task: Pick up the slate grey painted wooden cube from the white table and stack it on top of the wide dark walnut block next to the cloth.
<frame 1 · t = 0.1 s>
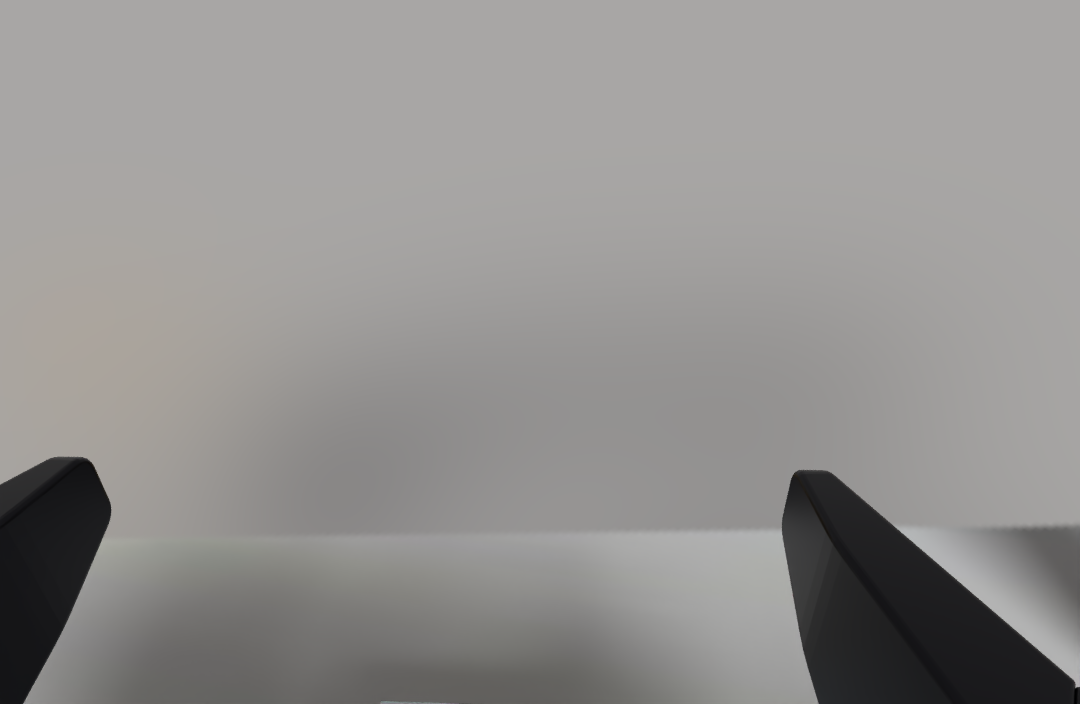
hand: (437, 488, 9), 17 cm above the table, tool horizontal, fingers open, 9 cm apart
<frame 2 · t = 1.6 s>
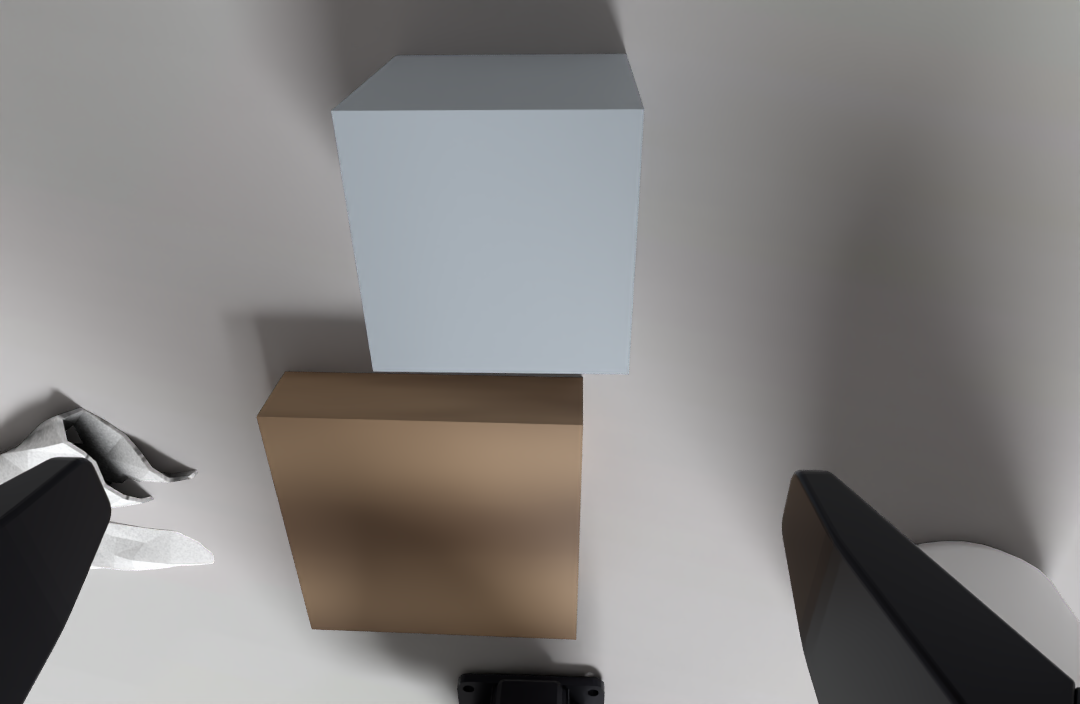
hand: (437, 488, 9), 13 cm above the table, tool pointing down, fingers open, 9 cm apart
white bottle: (925, 605, 29), on the table
walnut block: (445, 479, 27), on the table
grey cube: (514, 167, 21), on the table
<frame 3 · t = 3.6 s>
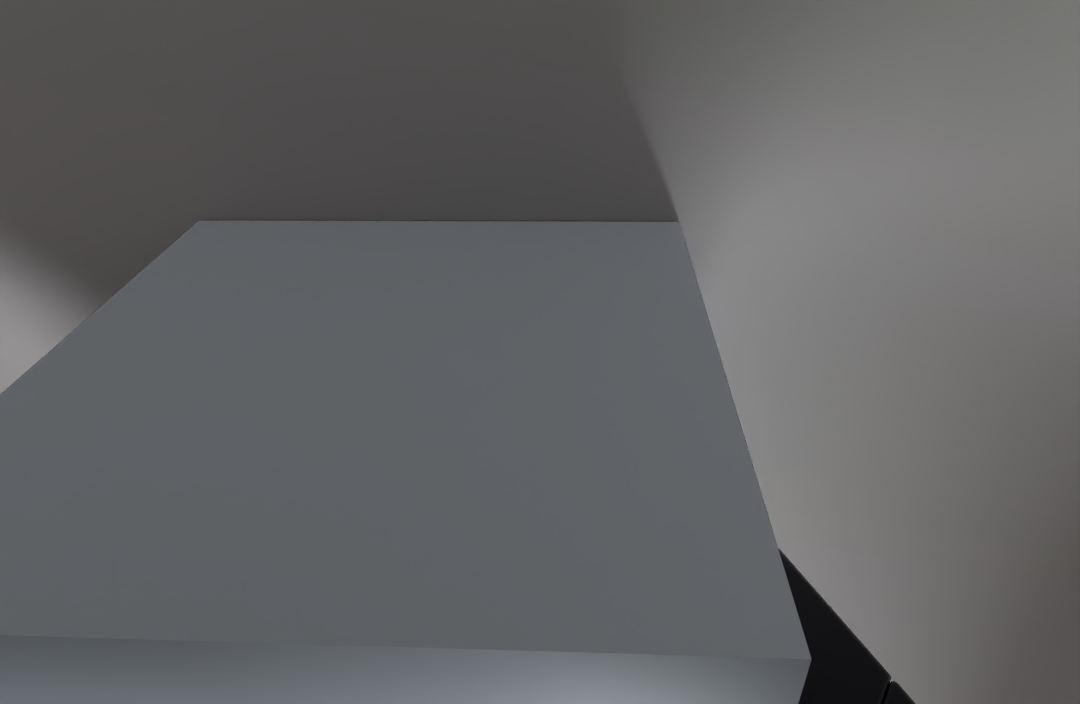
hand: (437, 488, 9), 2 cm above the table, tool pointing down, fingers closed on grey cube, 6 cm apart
grey cube: (454, 414, 11), on the table, touching gripper
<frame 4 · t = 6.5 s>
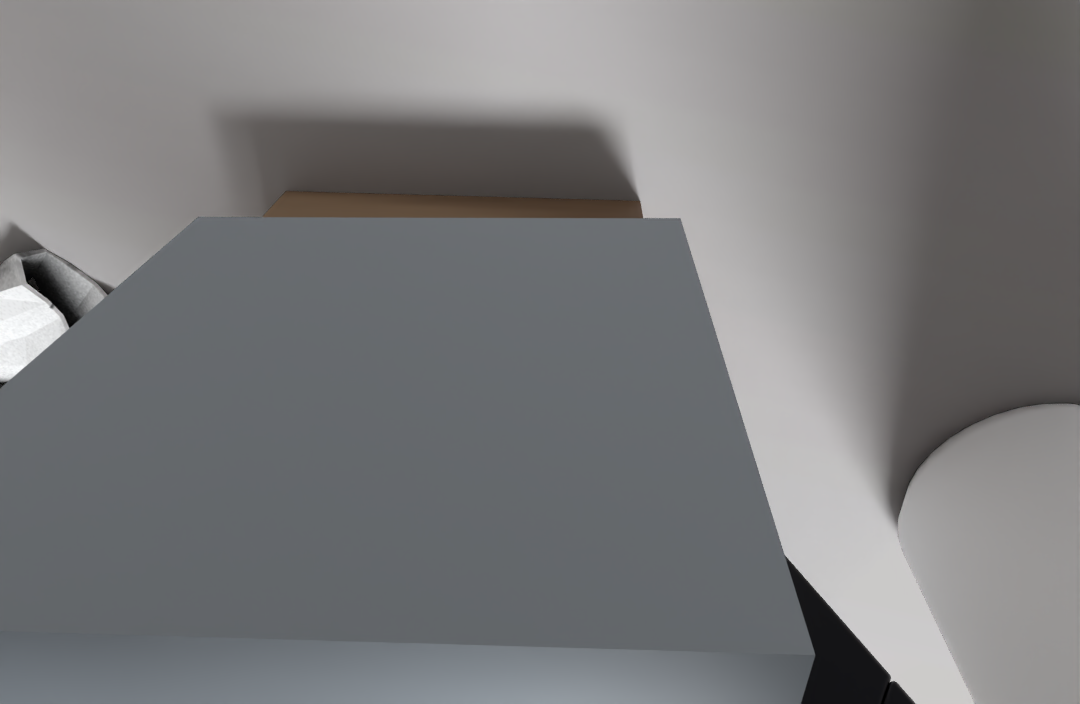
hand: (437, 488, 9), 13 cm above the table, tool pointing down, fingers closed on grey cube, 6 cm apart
white bottle: (1016, 486, 26), on the table
walnut block: (470, 337, 24), on the table
grey cube: (454, 412, 11), point 11 cm above the table, touching gripper
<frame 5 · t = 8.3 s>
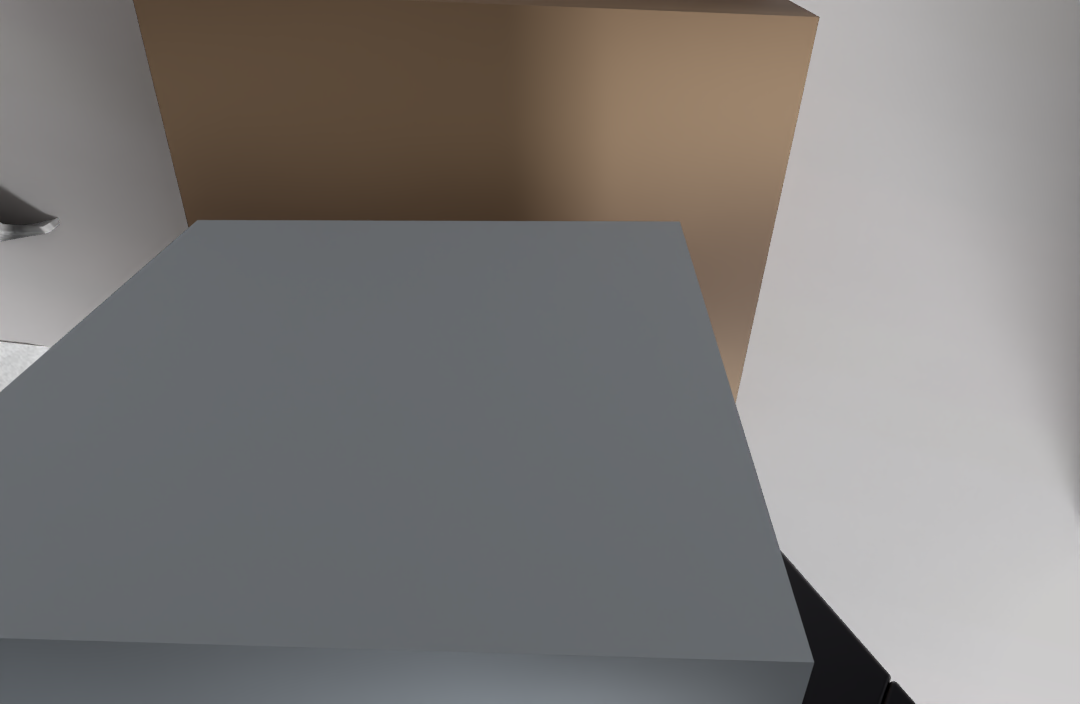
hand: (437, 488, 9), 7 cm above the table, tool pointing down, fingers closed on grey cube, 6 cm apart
walnut block: (493, 238, 16), on the table
grey cube: (453, 414, 11), point 6 cm above the table, touching gripper
when the fingers open (6 cm above the table, at t = 9.5 s): grey cube drops 2 cm, point 2 cm above the table.
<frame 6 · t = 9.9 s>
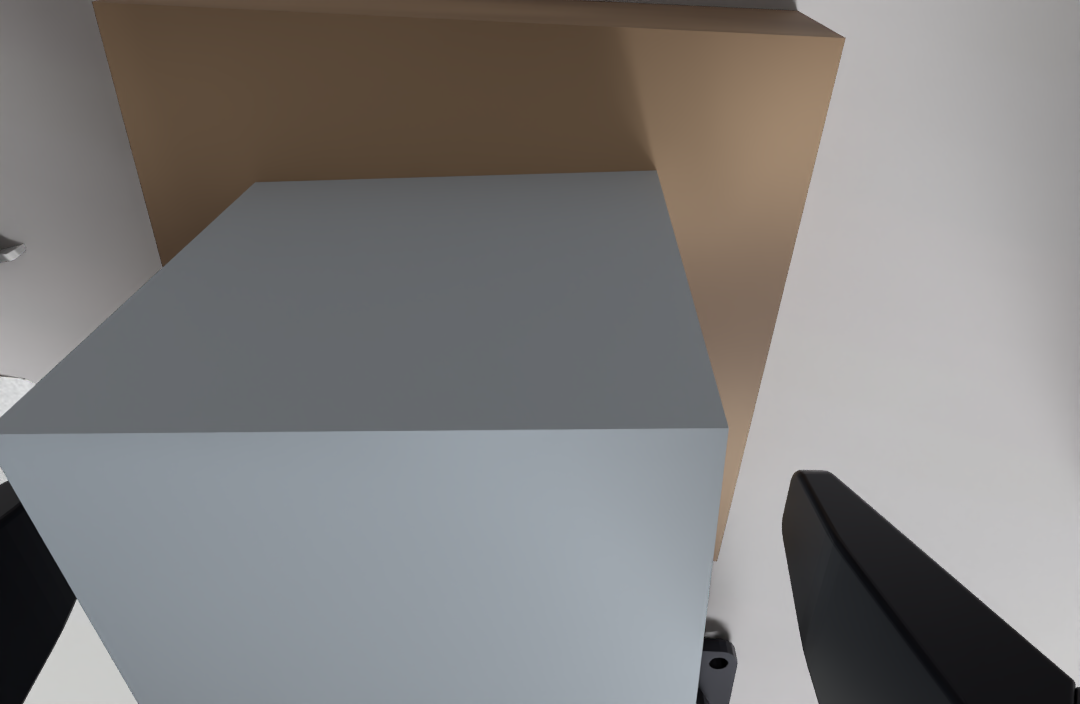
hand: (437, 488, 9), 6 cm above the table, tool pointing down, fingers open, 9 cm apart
walnut block: (488, 263, 15), on the table
grey cube: (471, 347, 12), point 2 cm above the table
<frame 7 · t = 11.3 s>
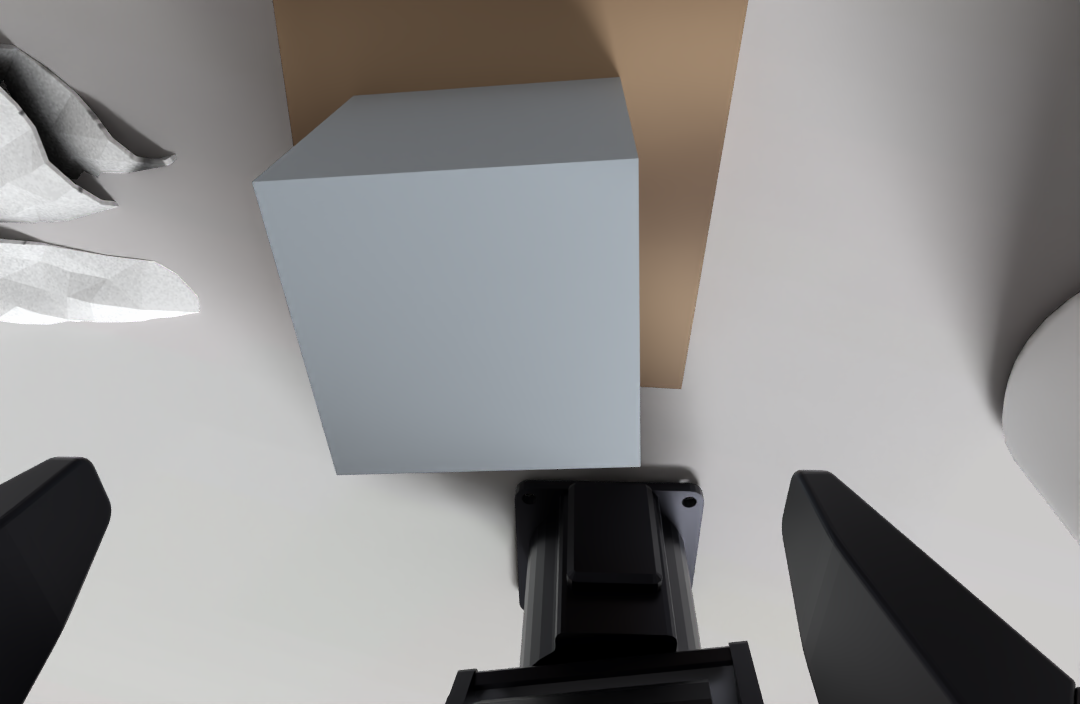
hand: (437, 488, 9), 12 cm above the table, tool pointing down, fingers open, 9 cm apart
walnut block: (513, 169, 20), on the table, touching grey cube
grey cube: (499, 214, 18), point 2 cm above the table, touching walnut block
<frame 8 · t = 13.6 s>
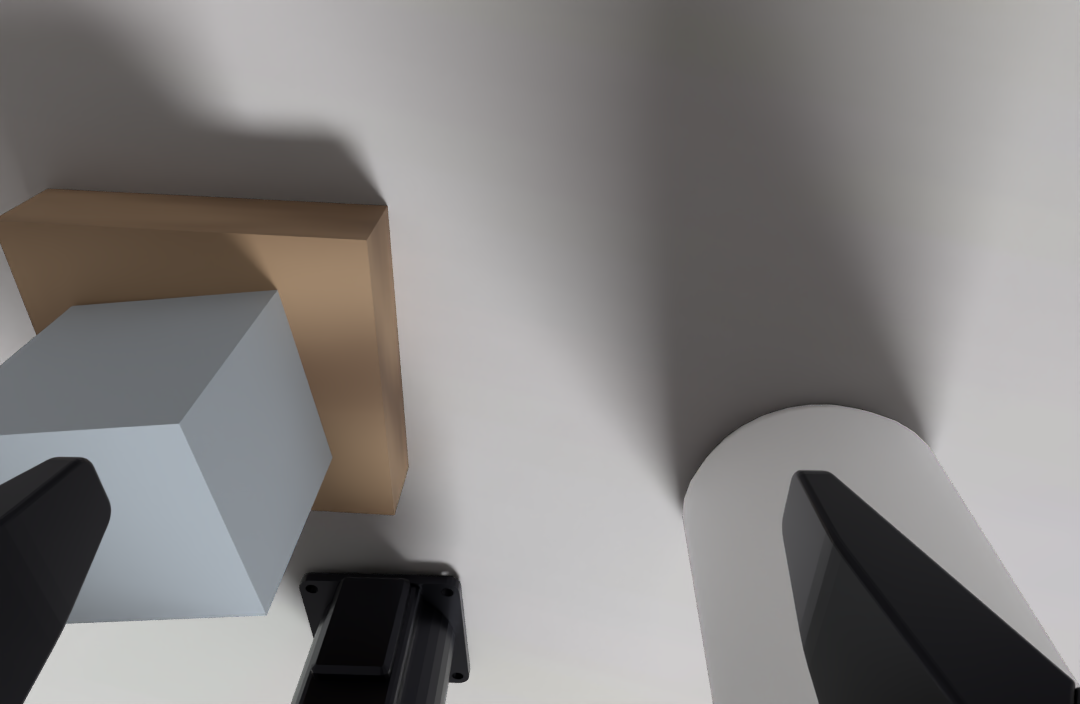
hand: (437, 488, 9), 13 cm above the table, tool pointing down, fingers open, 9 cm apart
white bottle: (801, 486, 26), on the table
walnut block: (254, 333, 24), on the table, touching grey cube
grey cube: (210, 386, 22), point 2 cm above the table, touching walnut block
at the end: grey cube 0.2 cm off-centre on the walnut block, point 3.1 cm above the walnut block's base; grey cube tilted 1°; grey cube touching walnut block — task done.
